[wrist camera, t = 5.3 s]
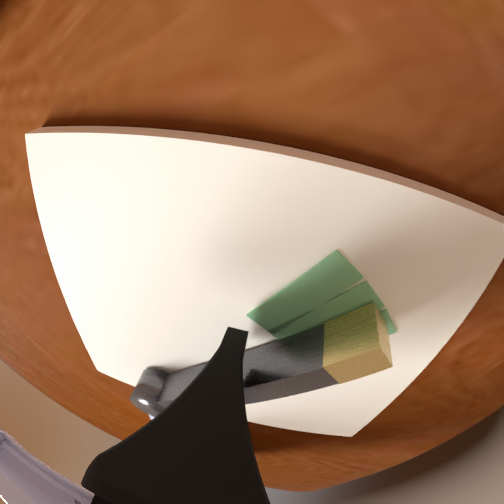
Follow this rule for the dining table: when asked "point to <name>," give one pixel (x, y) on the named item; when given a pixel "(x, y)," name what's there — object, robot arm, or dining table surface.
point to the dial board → (252, 256)
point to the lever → (290, 362)
